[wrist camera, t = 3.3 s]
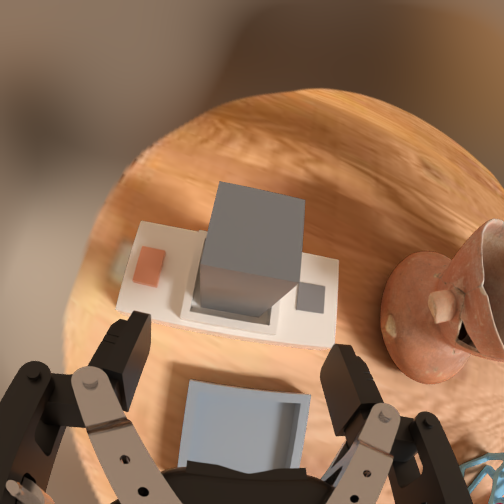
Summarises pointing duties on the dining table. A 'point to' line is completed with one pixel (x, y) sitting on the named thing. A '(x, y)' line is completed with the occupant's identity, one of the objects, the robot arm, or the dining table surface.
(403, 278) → the ceramic jug
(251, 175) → the dining table surface
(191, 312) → the white rectangular base
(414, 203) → the dining table surface
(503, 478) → the chair
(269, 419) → the tray
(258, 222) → the block
